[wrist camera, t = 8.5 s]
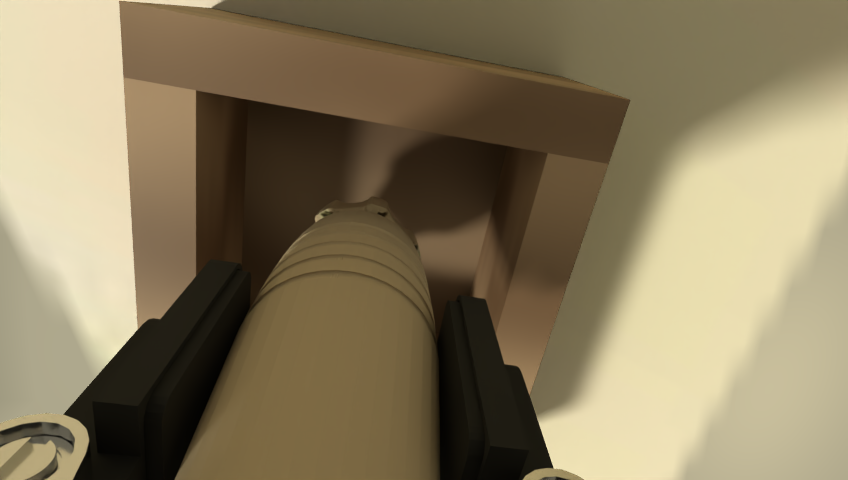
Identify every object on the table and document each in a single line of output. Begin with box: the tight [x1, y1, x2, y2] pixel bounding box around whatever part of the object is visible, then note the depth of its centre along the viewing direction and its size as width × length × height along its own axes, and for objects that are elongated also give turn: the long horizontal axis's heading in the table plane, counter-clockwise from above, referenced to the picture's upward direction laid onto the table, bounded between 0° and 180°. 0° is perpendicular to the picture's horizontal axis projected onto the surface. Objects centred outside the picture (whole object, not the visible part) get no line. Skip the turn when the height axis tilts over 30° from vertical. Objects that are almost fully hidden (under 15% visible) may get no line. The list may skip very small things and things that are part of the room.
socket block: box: [119, 1, 630, 396], centre depth 16 cm, size 16×11×5 cm
